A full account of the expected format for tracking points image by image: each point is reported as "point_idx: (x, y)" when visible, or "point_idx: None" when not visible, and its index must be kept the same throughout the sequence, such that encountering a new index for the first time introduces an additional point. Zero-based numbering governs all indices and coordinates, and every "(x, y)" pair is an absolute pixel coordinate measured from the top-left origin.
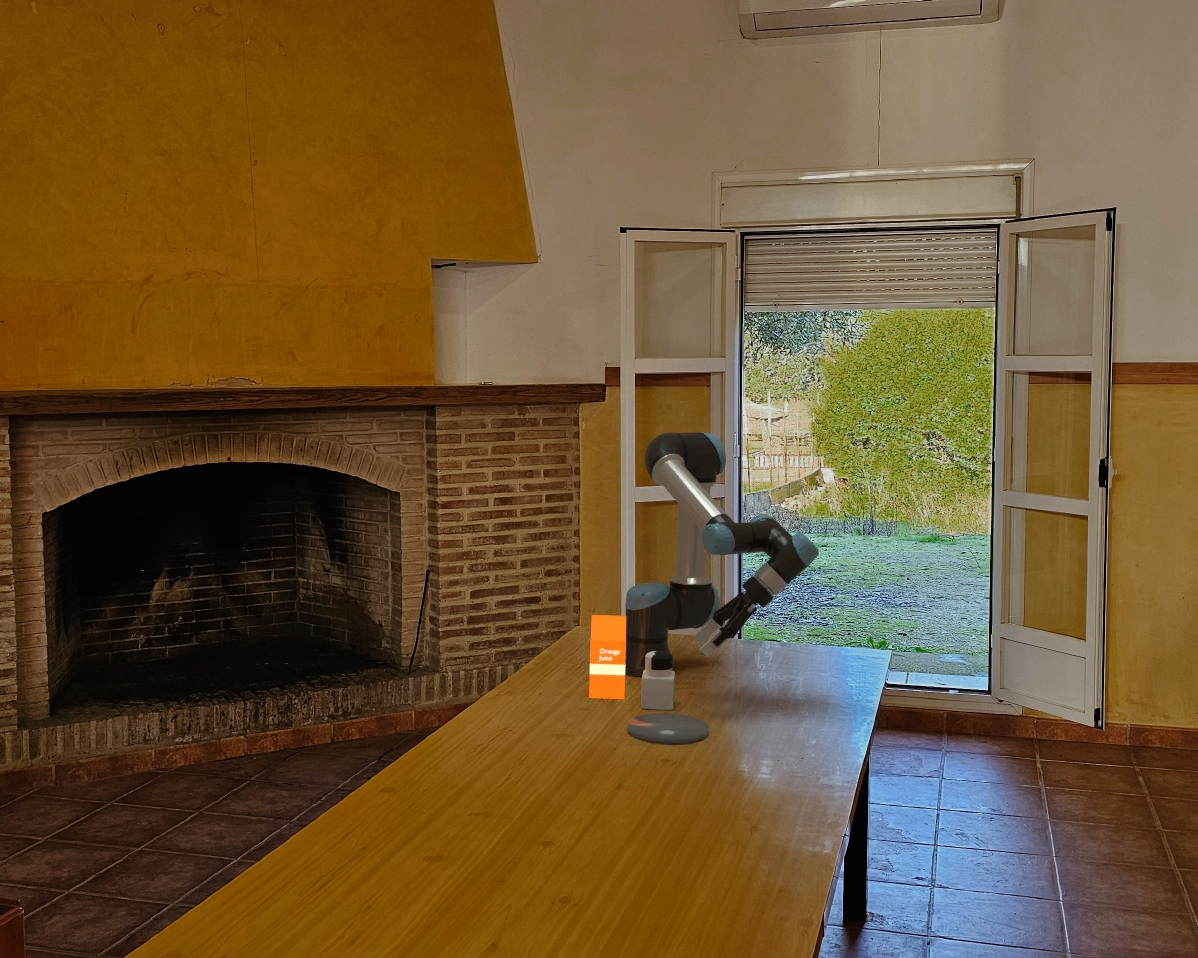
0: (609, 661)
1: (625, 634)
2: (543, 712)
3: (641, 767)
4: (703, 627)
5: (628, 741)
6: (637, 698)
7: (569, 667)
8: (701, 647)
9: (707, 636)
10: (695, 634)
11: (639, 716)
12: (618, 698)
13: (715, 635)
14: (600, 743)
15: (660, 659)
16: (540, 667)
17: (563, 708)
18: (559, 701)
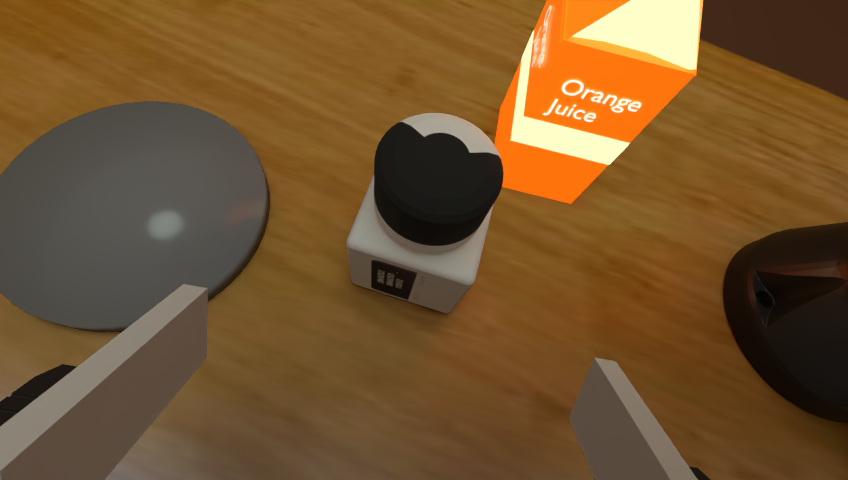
0: (531, 66)
1: (595, 21)
2: (389, 4)
3: None
4: (645, 442)
5: (101, 96)
6: (490, 217)
7: (776, 132)
8: (195, 296)
9: (600, 477)
10: (612, 374)
11: (247, 149)
12: None
13: (41, 398)
14: (117, 41)
15: (375, 154)
16: (757, 76)
17: (414, 42)
18: (472, 47)
